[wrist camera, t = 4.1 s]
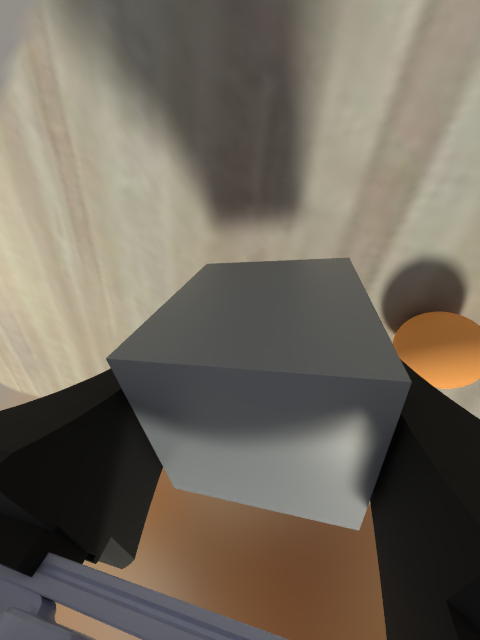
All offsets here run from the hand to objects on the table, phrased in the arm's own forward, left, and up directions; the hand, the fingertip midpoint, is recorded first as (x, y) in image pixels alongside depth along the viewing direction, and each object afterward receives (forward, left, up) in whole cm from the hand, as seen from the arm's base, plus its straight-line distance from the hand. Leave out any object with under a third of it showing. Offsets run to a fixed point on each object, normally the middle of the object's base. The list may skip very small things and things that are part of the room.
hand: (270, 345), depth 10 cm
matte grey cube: (0, 0, -2) cm, 2 cm away
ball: (-10, +5, -7) cm, 13 cm away
